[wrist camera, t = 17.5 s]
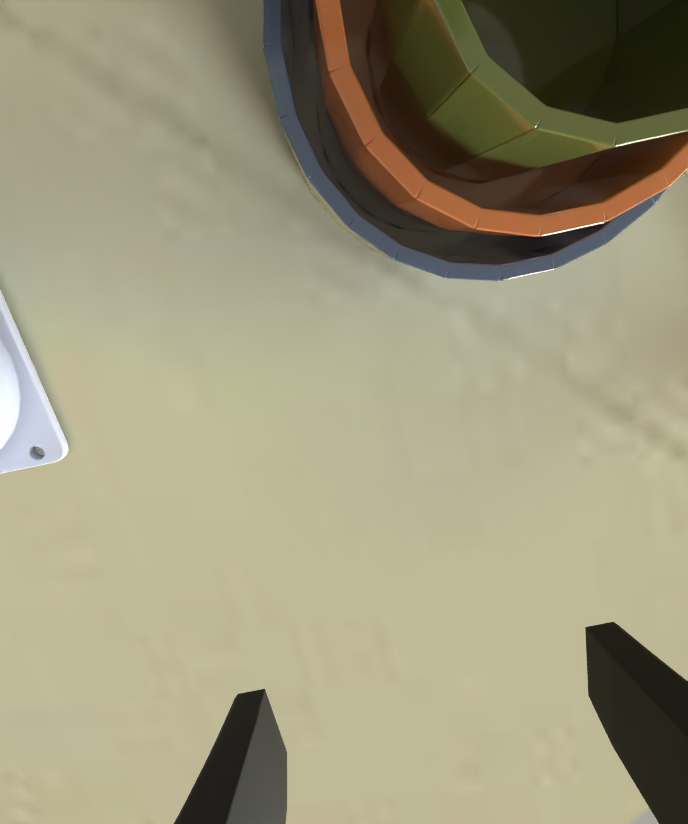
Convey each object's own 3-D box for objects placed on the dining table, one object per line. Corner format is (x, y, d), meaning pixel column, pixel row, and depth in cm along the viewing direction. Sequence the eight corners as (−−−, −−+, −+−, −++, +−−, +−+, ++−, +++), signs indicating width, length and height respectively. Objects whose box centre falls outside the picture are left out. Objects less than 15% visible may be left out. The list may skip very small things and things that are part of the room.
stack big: (322, 294, 17) (322, 319, 13) (239, -87, 14) (197, -249, 9) (623, 229, 17) (738, 230, 12) (619, -177, 13) (780, -395, 9)
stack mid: (346, 254, 17) (365, 274, 10) (288, -47, 14) (256, -319, 7) (589, 202, 17) (786, 184, 10) (580, -115, 14) (847, -467, 7)
